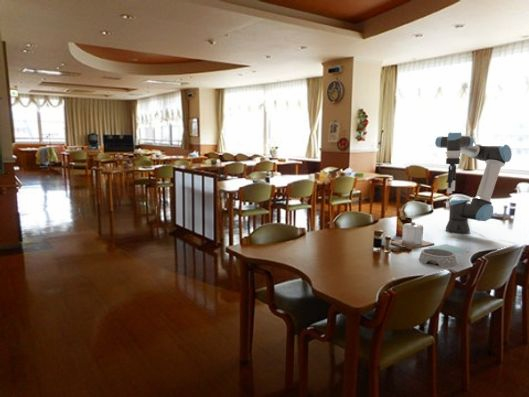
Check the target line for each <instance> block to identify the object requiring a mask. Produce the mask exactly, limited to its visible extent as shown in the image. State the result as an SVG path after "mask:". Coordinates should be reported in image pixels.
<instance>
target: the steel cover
mask: <svg viewBox="0 0 529 397" xmlns="http://www.w3.org/2000/svg"><path fill="white" fill-rule="evenodd" d="M423 237H424V226H423V224H420V223H416V222H415V221H412V223H407V224H404V226H403V234H402V237H401V238H402V239H401V240H402V242H403V243H405V244H411V245H421V244H422V242H423V239H424V238H423Z"/></svg>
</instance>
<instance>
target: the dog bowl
mask: <svg viewBox="0 0 529 397" xmlns="http://www.w3.org/2000/svg"><path fill="white" fill-rule="evenodd" d="M418 261H419V262H421V263H422V264H425V265H426V264H427V263H430V264H434V265H438V266H439V267H442V268H444V267H445V268H450V267H455V266H457V264H458V263H457V259H456V254H454V253H453V252H451V251H448V250H443V249H435V248H428V247H427V248H424V249H422V250H421V251H420V255H419V258H418Z"/></svg>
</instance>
